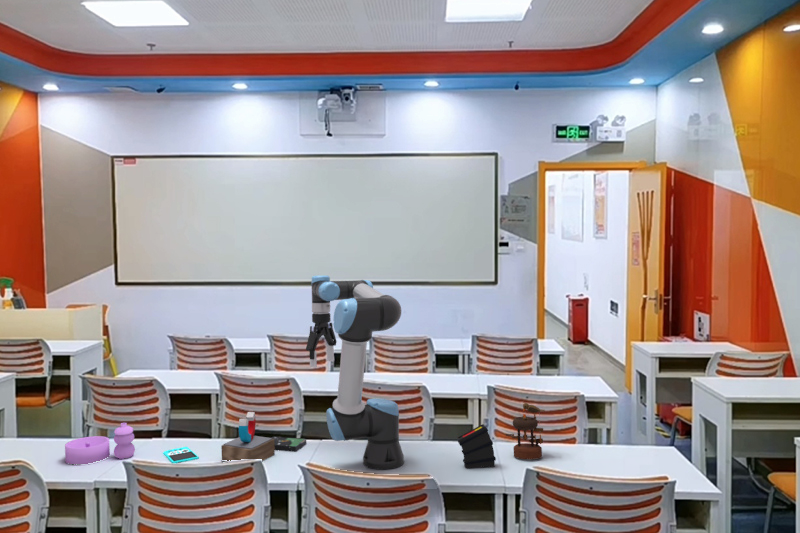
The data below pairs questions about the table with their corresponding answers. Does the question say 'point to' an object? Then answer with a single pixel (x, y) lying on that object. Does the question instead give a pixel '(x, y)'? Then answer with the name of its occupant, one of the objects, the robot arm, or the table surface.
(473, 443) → the magazine
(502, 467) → the table surface
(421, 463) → the table surface
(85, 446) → the container set
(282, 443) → the disk drive
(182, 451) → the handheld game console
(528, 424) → the music box
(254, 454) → the walnut stand
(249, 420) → the magnet
